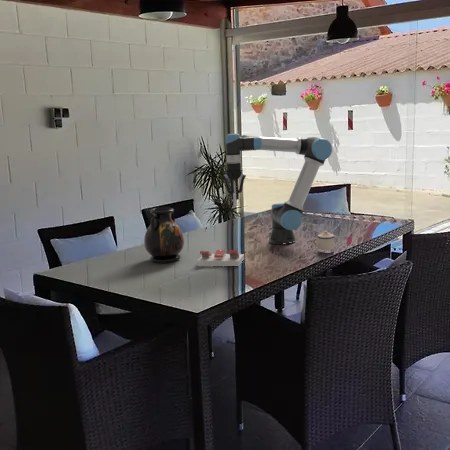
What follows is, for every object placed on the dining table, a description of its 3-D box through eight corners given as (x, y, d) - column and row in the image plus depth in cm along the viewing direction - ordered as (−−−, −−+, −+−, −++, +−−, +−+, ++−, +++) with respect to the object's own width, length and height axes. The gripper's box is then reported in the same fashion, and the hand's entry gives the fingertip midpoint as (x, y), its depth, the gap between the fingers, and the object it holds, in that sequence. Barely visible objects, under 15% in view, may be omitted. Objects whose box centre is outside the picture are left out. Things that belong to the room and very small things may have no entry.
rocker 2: (225, 254, 307) (225, 249, 306) (222, 260, 301) (222, 255, 300) (217, 254, 308) (216, 249, 307) (214, 260, 302) (214, 255, 301)
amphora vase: (169, 267, 303) (165, 214, 298) (137, 263, 315) (133, 211, 309) (193, 257, 321) (190, 206, 315) (162, 253, 332) (158, 204, 327)
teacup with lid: (336, 250, 320) (336, 229, 318) (330, 254, 313) (330, 233, 311) (316, 248, 327) (316, 228, 324) (309, 252, 319) (309, 231, 317)
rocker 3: (238, 259, 303) (239, 255, 305) (236, 254, 298) (237, 250, 299) (230, 259, 304) (231, 255, 306) (228, 254, 299) (228, 250, 300)
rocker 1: (211, 258, 307) (211, 253, 308) (208, 256, 301) (208, 251, 302) (203, 258, 308) (203, 253, 309) (199, 256, 302) (200, 251, 303)
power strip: (244, 259, 311) (244, 253, 310) (239, 266, 298) (238, 260, 297) (204, 259, 316) (203, 253, 315) (197, 266, 303) (196, 260, 302)
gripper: (220, 163, 315) (222, 206, 320) (244, 163, 313) (245, 206, 317) (223, 162, 323) (225, 204, 327) (246, 161, 320) (248, 204, 324)
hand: (235, 205), depth 322 cm, fingers closed
